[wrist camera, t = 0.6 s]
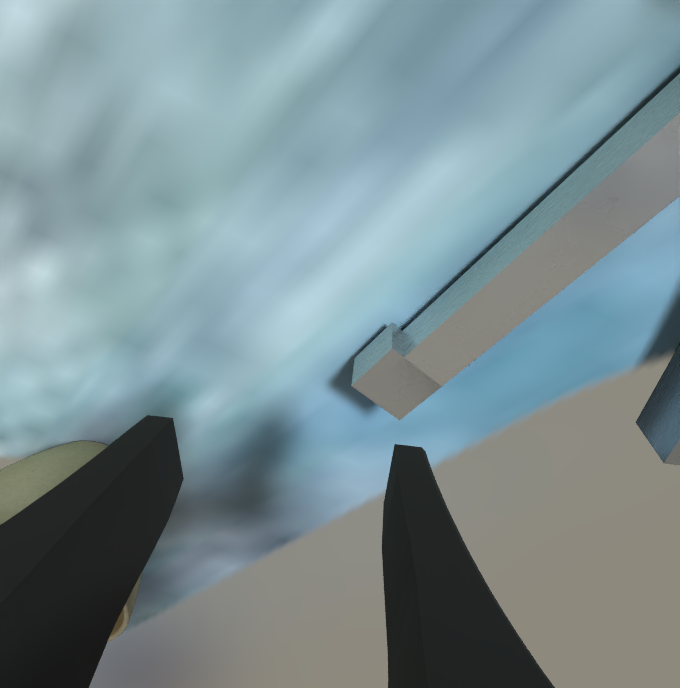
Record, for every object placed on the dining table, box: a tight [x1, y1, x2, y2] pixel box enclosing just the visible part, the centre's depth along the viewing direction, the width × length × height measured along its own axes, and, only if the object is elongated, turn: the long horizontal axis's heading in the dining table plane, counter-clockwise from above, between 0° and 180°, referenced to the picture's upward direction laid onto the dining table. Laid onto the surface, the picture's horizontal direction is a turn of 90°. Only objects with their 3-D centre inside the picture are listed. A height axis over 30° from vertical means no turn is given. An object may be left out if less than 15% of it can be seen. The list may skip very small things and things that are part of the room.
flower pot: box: [0, 441, 142, 642], centre depth 23 cm, size 10×10×7 cm
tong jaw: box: [351, 74, 680, 420], centre depth 15 cm, size 16×3×2 cm, turn 141°
